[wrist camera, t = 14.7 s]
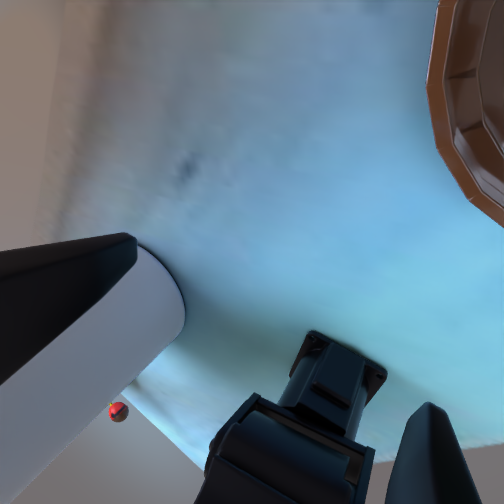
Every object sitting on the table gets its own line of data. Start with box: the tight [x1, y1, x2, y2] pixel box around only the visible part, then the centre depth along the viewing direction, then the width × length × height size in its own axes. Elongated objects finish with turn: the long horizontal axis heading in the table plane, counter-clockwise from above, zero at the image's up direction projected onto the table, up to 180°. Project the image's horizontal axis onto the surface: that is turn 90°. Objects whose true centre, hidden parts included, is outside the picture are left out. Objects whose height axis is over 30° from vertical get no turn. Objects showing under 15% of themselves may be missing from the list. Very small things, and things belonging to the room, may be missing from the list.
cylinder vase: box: [0, 246, 185, 504], centre depth 27 cm, size 12×12×25 cm
